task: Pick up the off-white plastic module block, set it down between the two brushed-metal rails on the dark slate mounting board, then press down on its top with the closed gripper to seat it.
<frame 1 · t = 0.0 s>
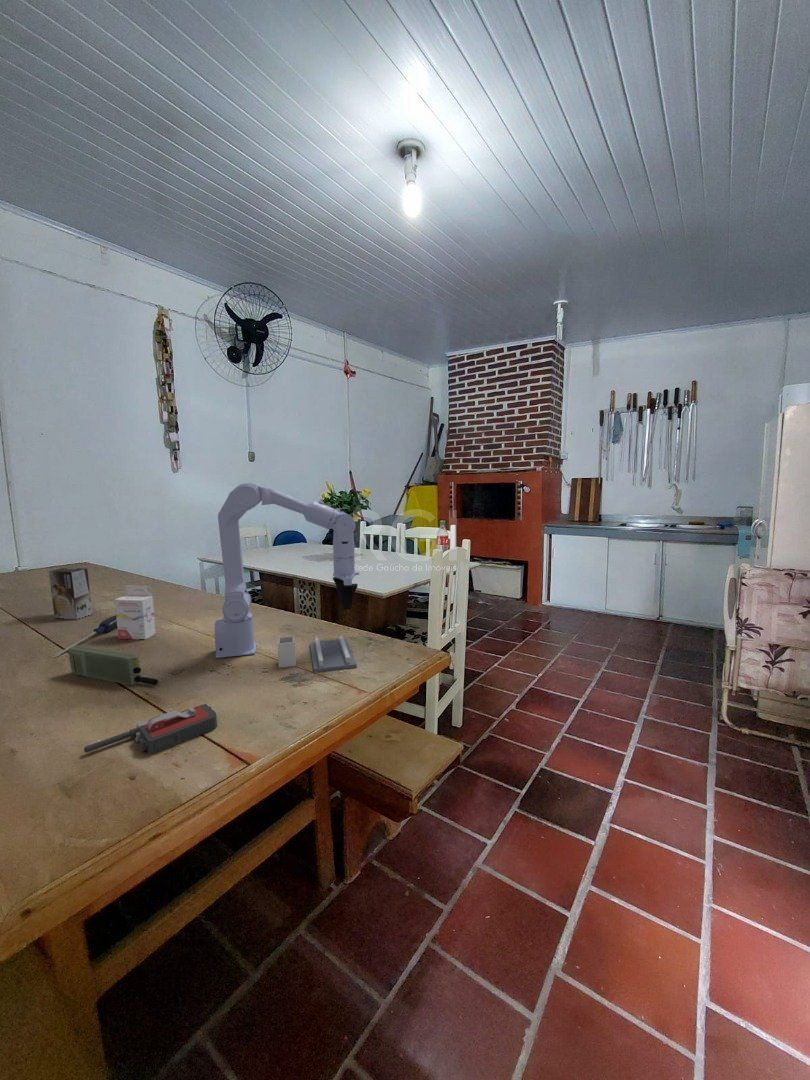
hand: (345, 605, 123), 10 cm above the table, tool pointing down, fingers open, 7 cm apart
module block: (287, 663, 109), on the table
handheld radio: (114, 680, 102), on the table
rail dock: (331, 655, 114), on the table
coffee box: (73, 617, 149), on the table
ink cartridge box: (137, 637, 129), on the table
screwdriver: (91, 640, 127), on the table
walkie-talkie: (158, 741, 78), on the table
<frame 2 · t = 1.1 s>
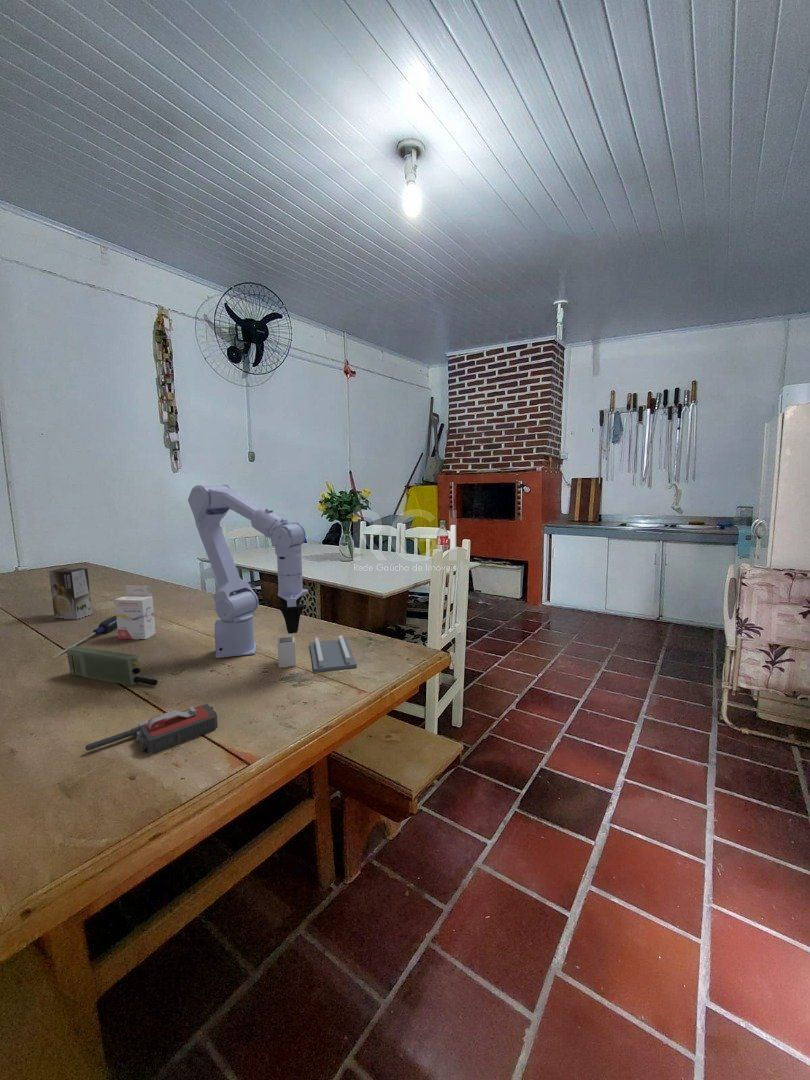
hand: (292, 627, 110), 9 cm above the table, tool pointing down, fingers open, 7 cm apart
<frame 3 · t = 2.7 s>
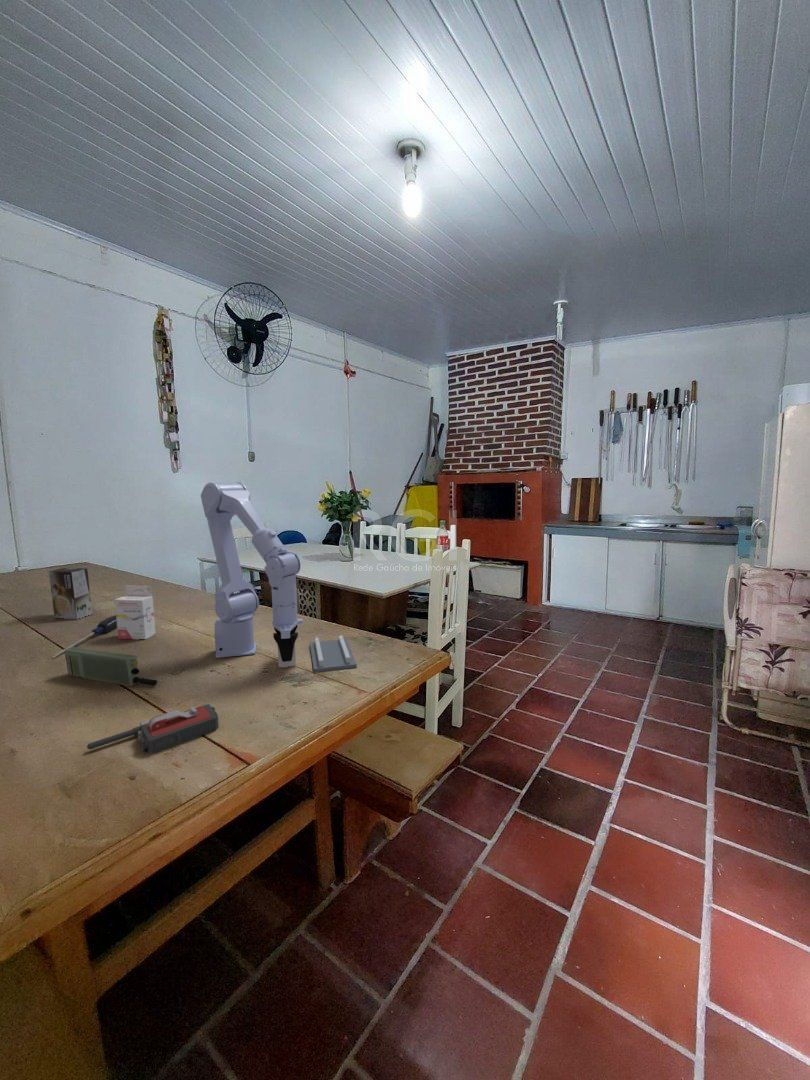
hand: (287, 657, 109), 2 cm above the table, tool pointing down, fingers closed on module block, 4 cm apart
module block: (287, 663, 109), on the table, touching gripper
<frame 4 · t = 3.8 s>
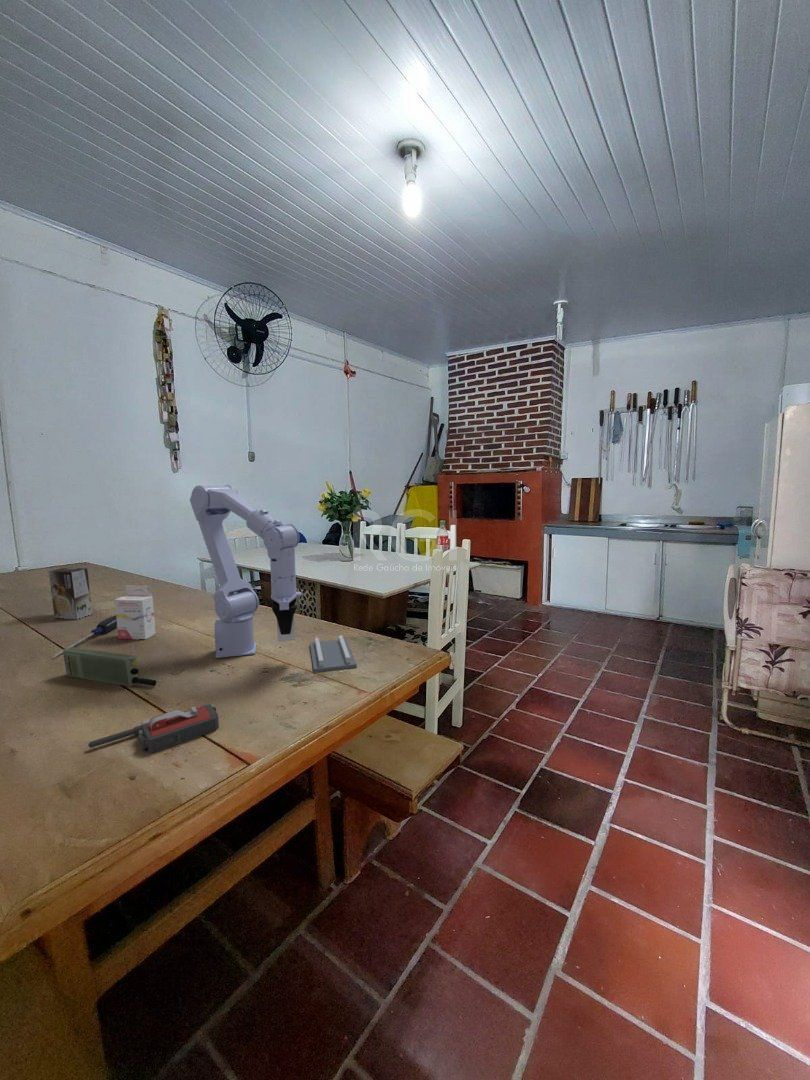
hand: (285, 630, 108), 8 cm above the table, tool pointing down, fingers closed on module block, 4 cm apart
module block: (286, 638, 108), point 6 cm above the table, touching gripper
everything else where it was.
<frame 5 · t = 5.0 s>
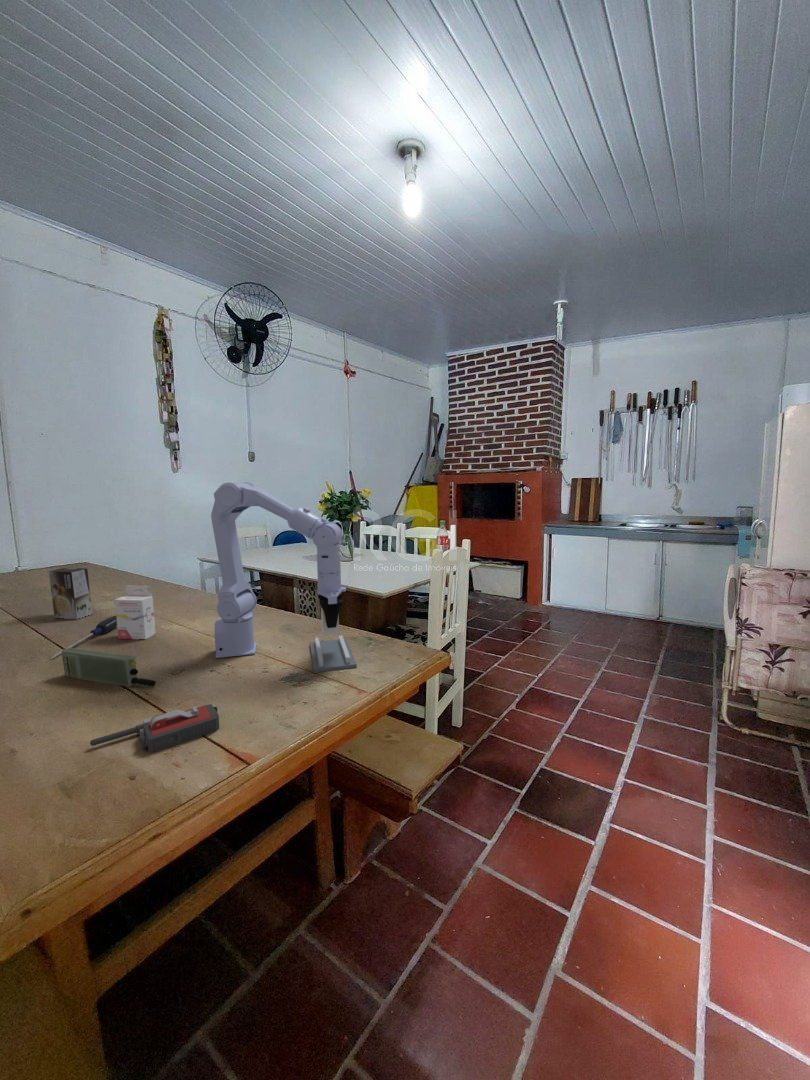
hand: (330, 624, 113), 8 cm above the table, tool pointing down, fingers closed on module block, 4 cm apart
module block: (330, 631, 113), point 6 cm above the table, touching gripper
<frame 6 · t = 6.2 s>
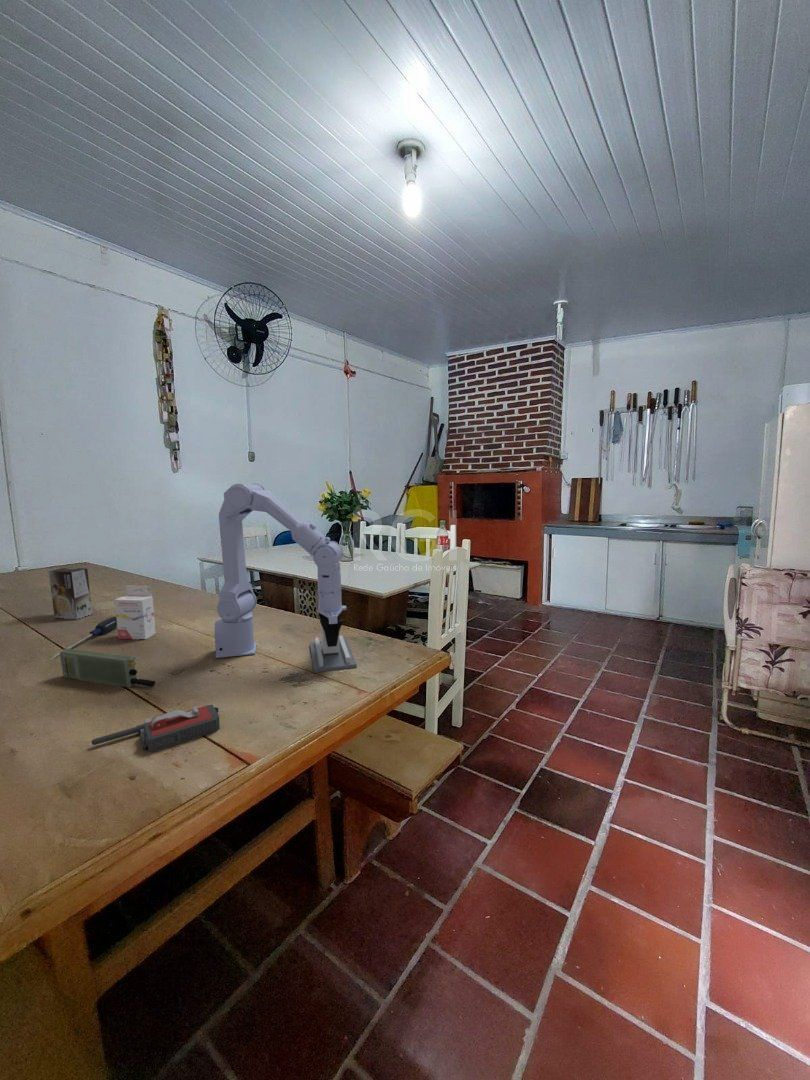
hand: (331, 642, 114), 3 cm above the table, tool pointing down, fingers closed on module block, 4 cm apart
module block: (330, 650, 114), point 1 cm above the table, touching gripper
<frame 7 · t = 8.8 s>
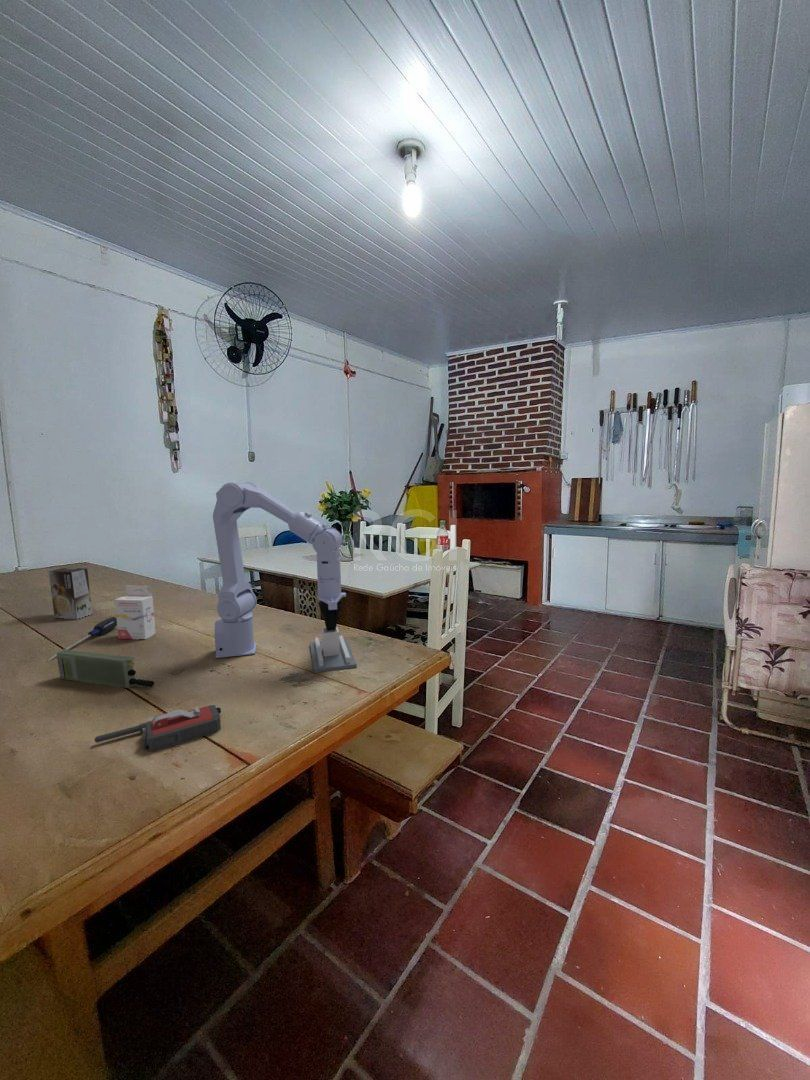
hand: (331, 629, 113), 7 cm above the table, tool pointing down, fingers closed, pressing on module block
module block: (330, 652, 114), point 1 cm above the table, touching gripper, rail dock
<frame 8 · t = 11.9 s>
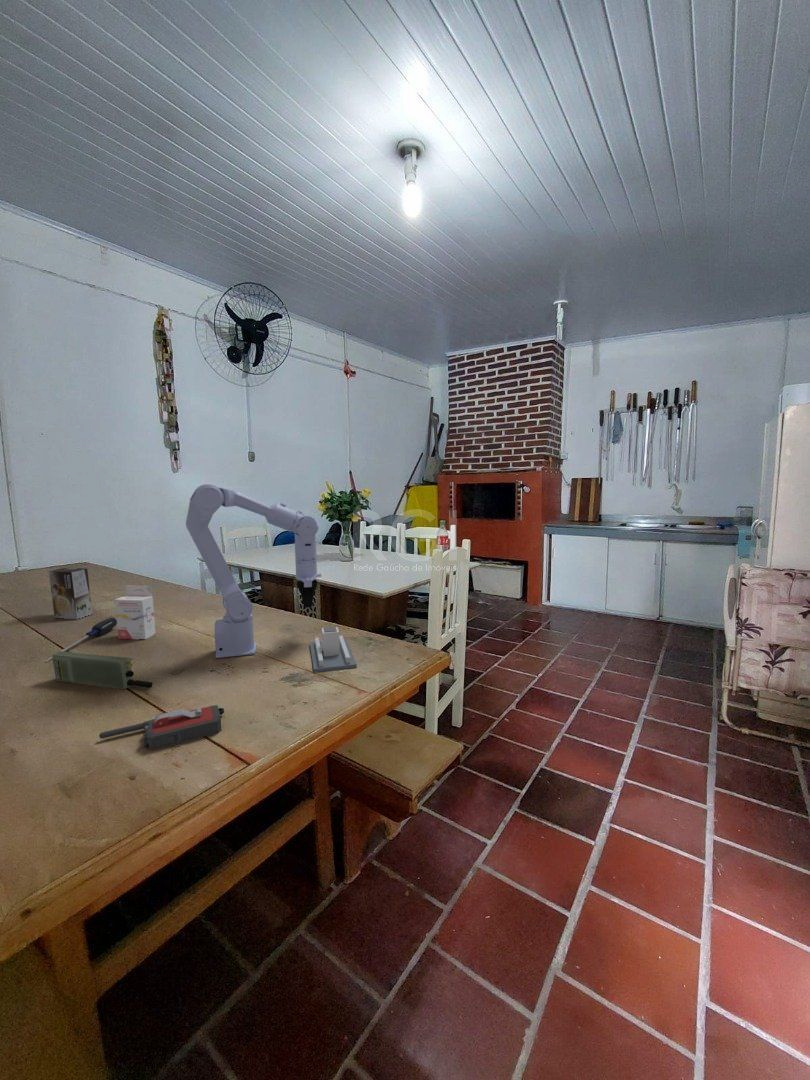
hand: (307, 606, 125), 9 cm above the table, tool pointing down, fingers closed
module block: (330, 652, 114), point 1 cm above the table, touching rail dock
at the end: module block inside the target area on the rail dock (0.2 cm from its centre), point 0.8 cm above the rail dock's base; module block tilted 0°; the gripper is holding nothing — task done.
